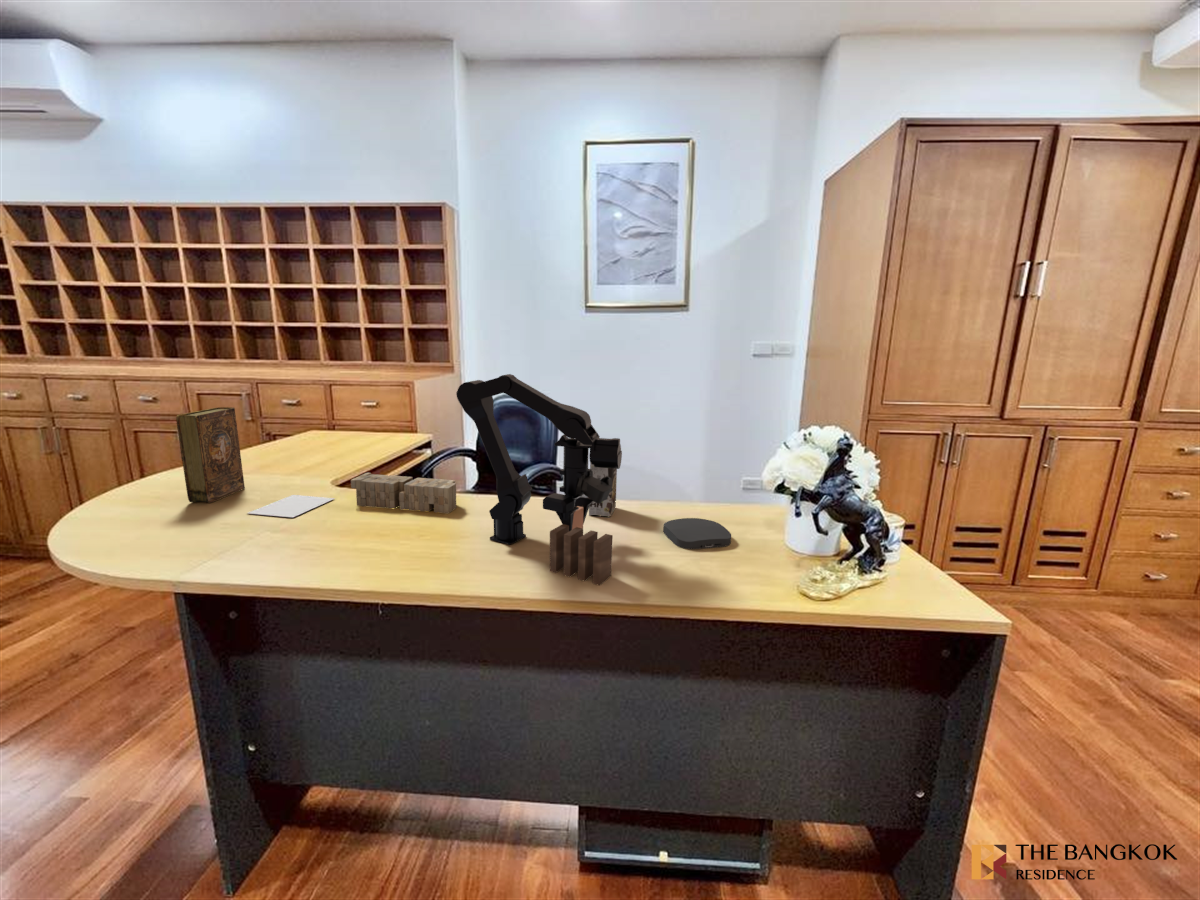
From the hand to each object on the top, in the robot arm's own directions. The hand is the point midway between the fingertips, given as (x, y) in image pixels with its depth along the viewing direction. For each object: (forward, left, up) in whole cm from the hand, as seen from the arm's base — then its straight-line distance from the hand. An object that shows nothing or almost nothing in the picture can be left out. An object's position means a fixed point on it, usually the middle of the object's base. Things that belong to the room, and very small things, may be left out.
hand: (574, 529), depth 123 cm
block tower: (-56, -1, -5) cm, 56 cm away
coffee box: (-6, +25, -4) cm, 26 cm away
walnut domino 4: (+14, -12, -4) cm, 19 cm away
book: (-108, -24, -4) cm, 111 cm away
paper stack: (-75, -21, -5) cm, 78 cm away
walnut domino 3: (+11, -12, -4) cm, 16 cm away
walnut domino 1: (+4, -12, -4) cm, 13 cm away
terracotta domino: (0, 0, -4) cm, 4 cm away
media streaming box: (+23, +21, -5) cm, 31 cm away
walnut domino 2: (+7, -12, -4) cm, 14 cm away
